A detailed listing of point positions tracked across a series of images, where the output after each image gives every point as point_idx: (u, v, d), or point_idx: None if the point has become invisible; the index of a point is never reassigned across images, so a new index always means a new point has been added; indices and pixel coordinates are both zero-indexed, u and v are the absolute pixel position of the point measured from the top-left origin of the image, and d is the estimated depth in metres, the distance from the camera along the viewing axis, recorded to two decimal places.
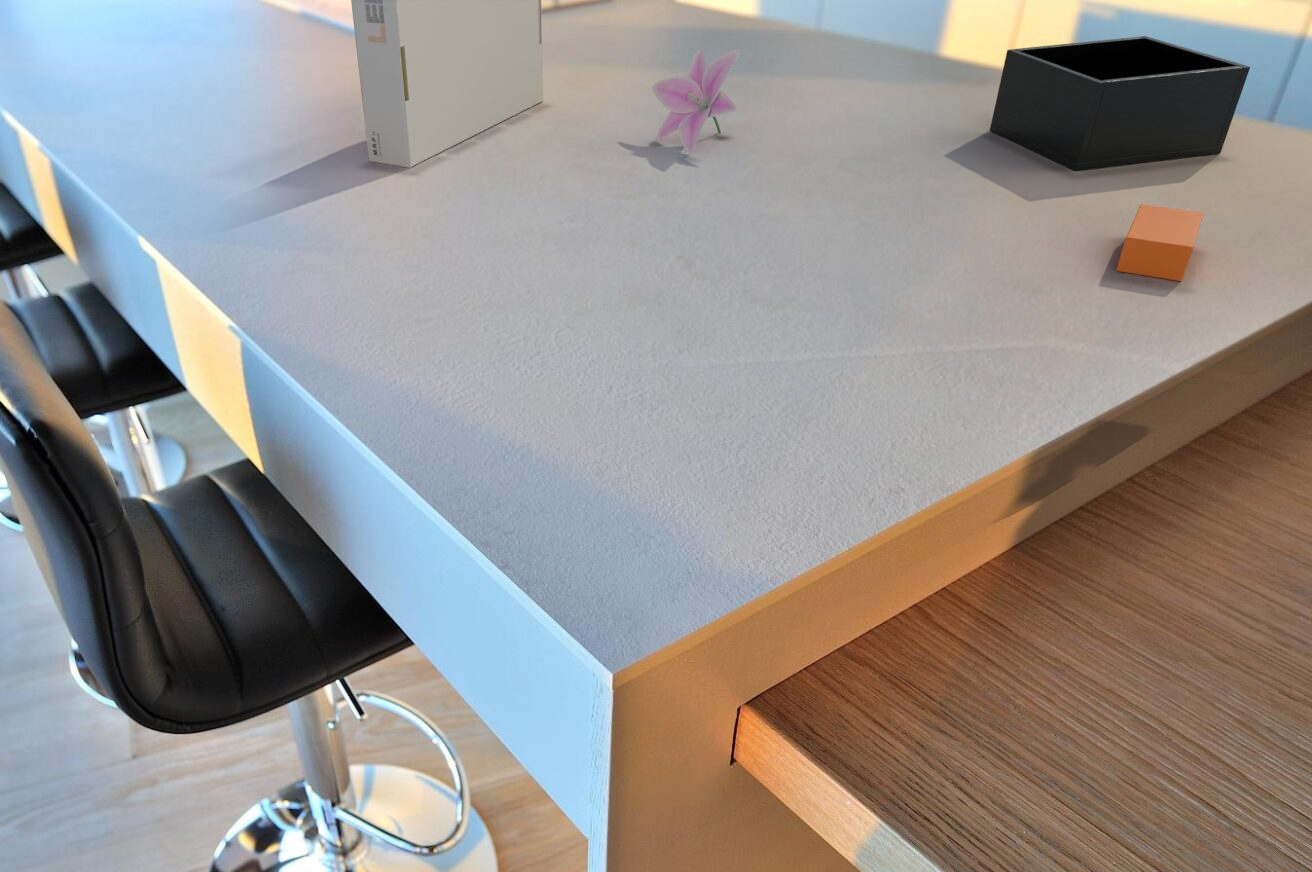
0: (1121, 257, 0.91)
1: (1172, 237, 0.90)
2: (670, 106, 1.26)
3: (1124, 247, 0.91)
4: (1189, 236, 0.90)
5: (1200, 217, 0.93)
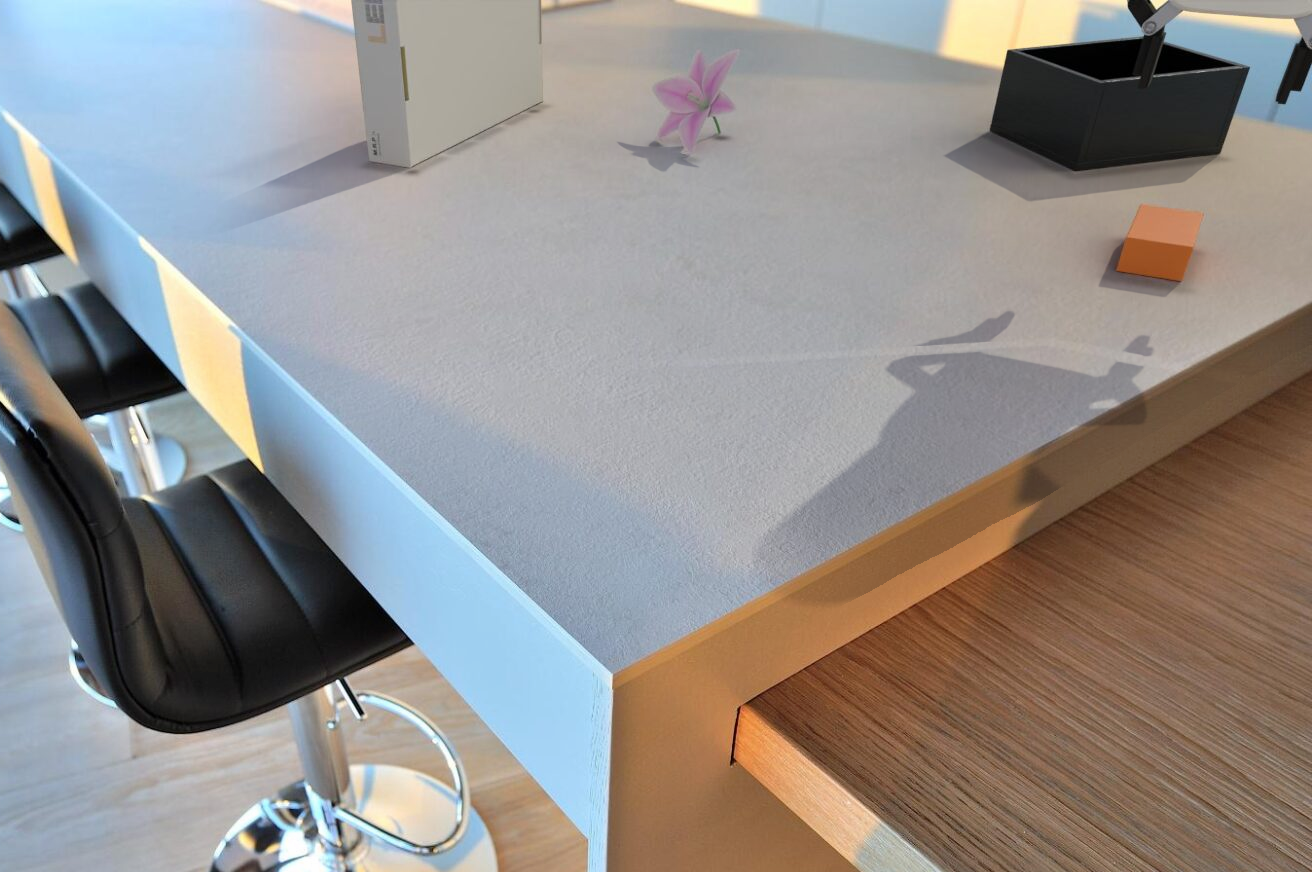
0: (1121, 257, 0.91)
1: (1172, 237, 0.90)
2: (670, 106, 1.26)
3: (1124, 247, 0.91)
4: (1189, 236, 0.90)
5: (1200, 217, 0.93)
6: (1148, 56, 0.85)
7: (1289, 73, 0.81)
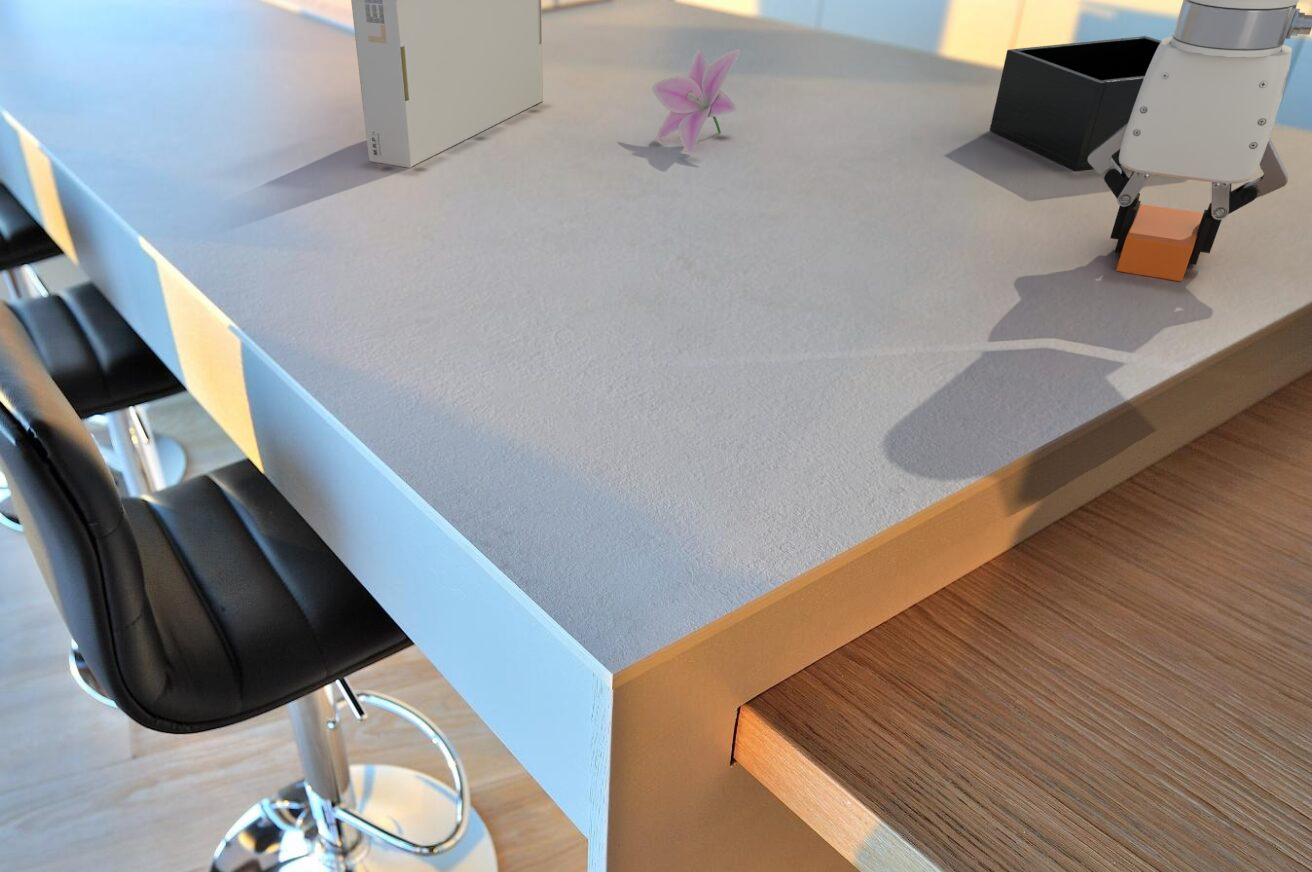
0: (1121, 257, 0.91)
1: (1172, 237, 0.90)
2: (670, 106, 1.26)
3: (1124, 247, 0.91)
4: (1189, 236, 0.90)
5: (1200, 217, 0.93)
6: (1124, 225, 0.93)
7: (1197, 239, 0.90)
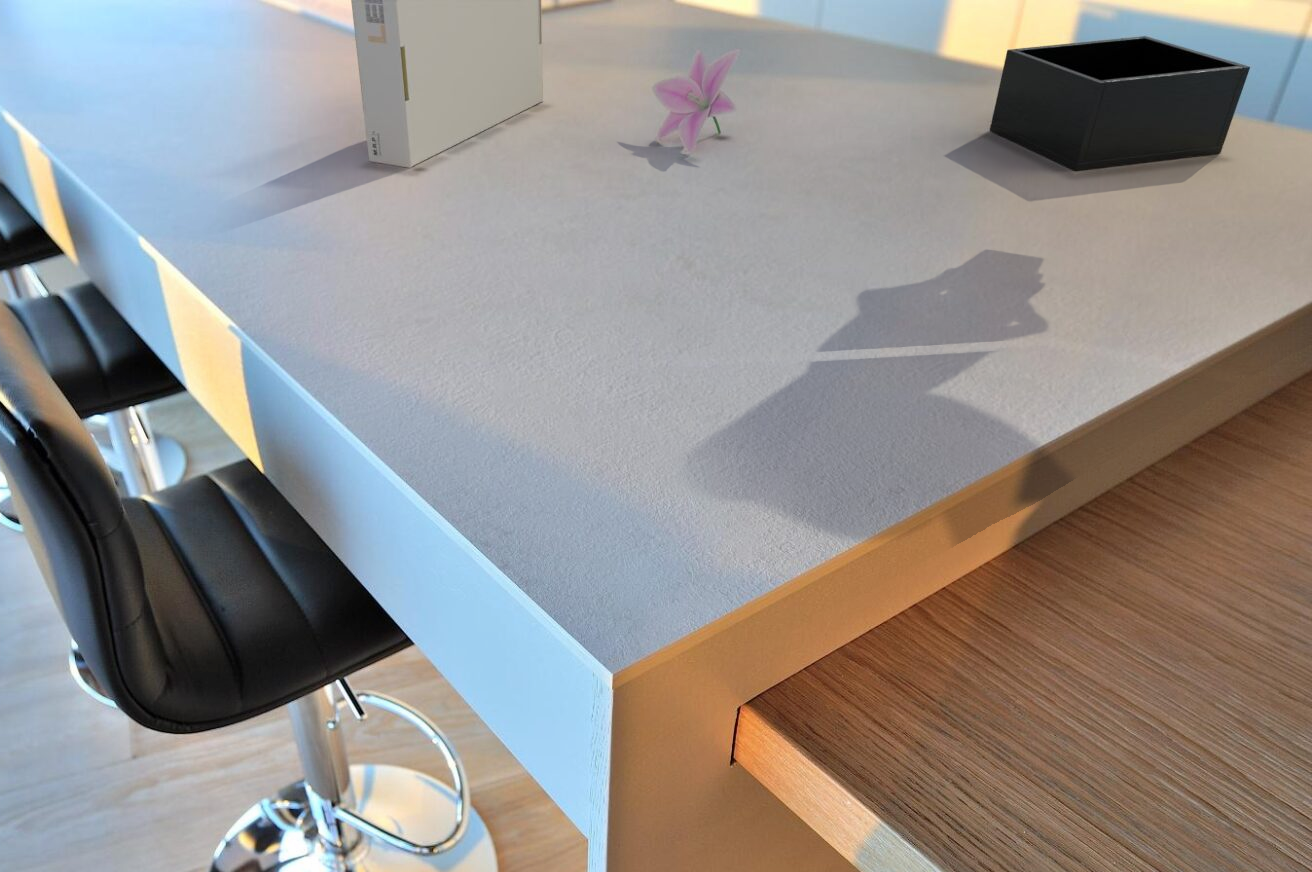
0: None
1: None
2: (670, 106, 1.26)
3: None
4: None
5: None
6: None
7: None
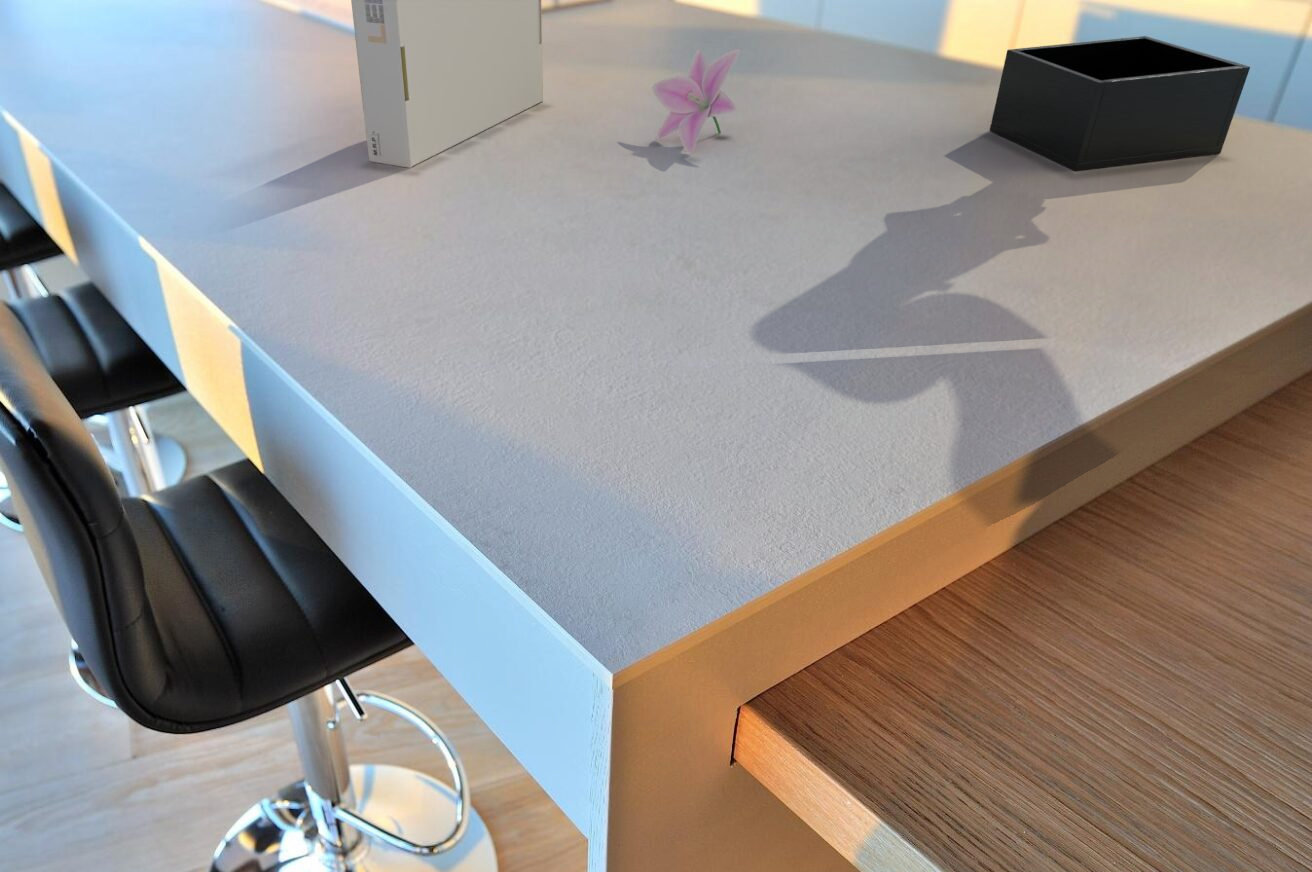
0: None
1: None
2: (670, 106, 1.26)
3: None
4: None
5: None
6: None
7: None
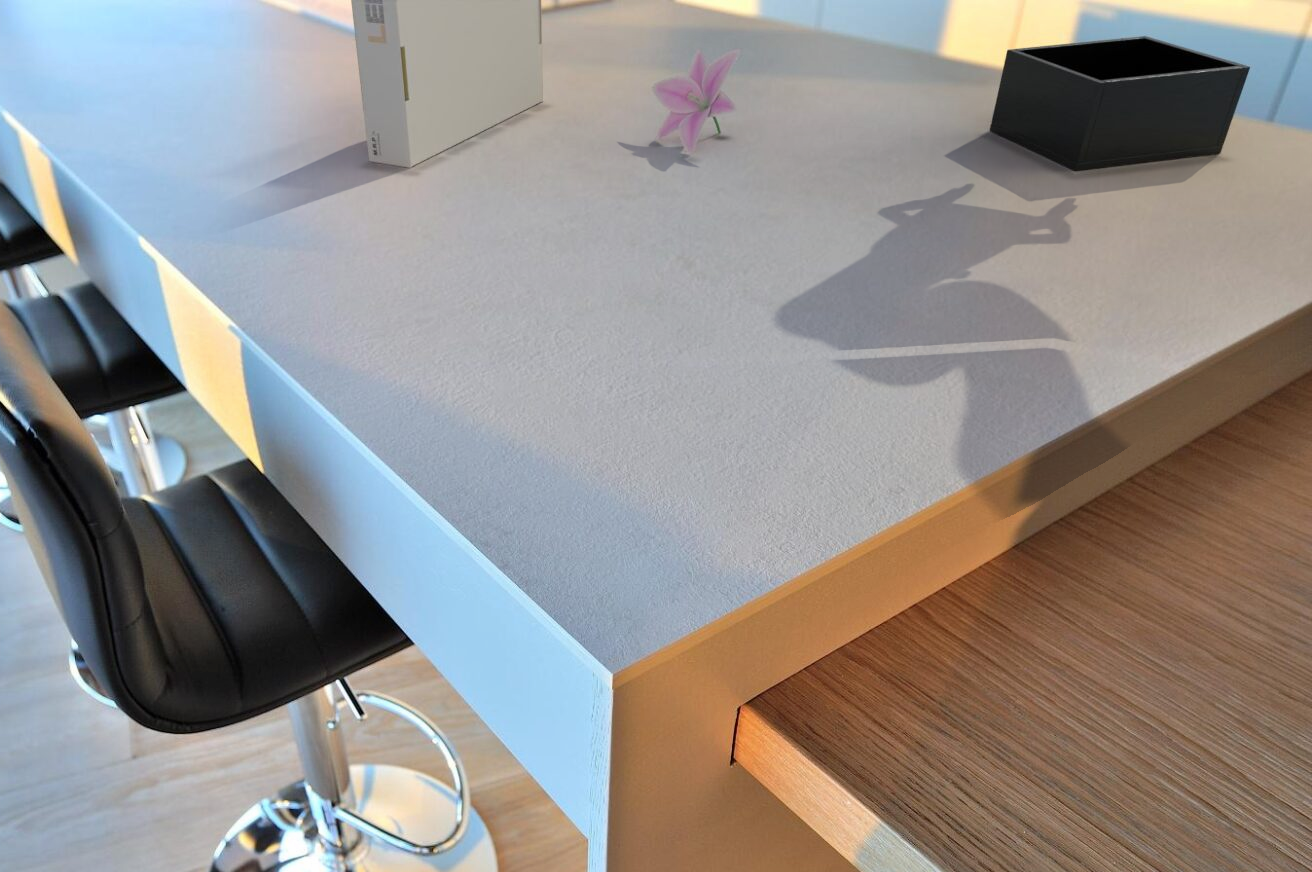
0: None
1: None
2: (670, 106, 1.26)
3: None
4: None
5: None
6: None
7: None
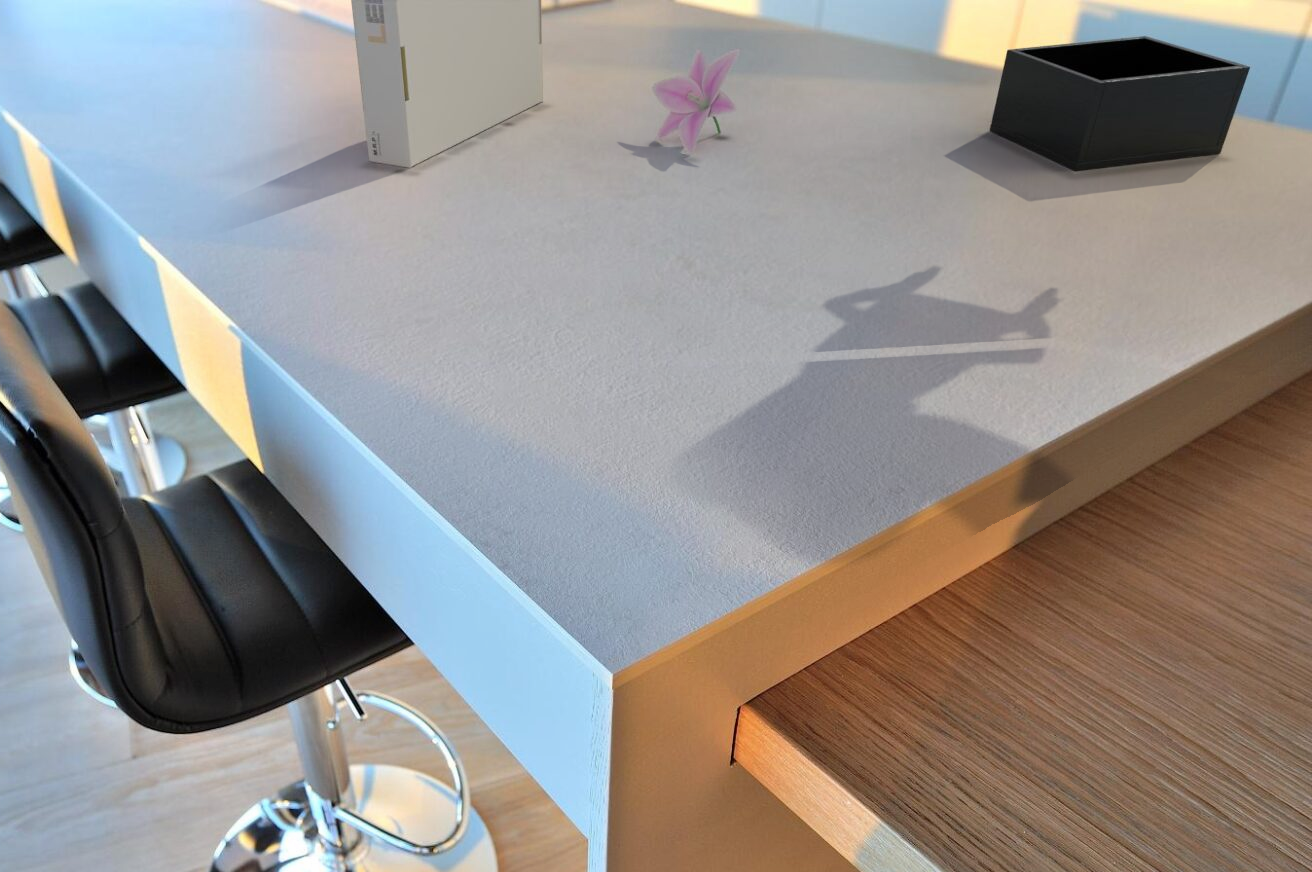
0: None
1: None
2: (670, 106, 1.26)
3: None
4: None
5: None
6: None
7: None
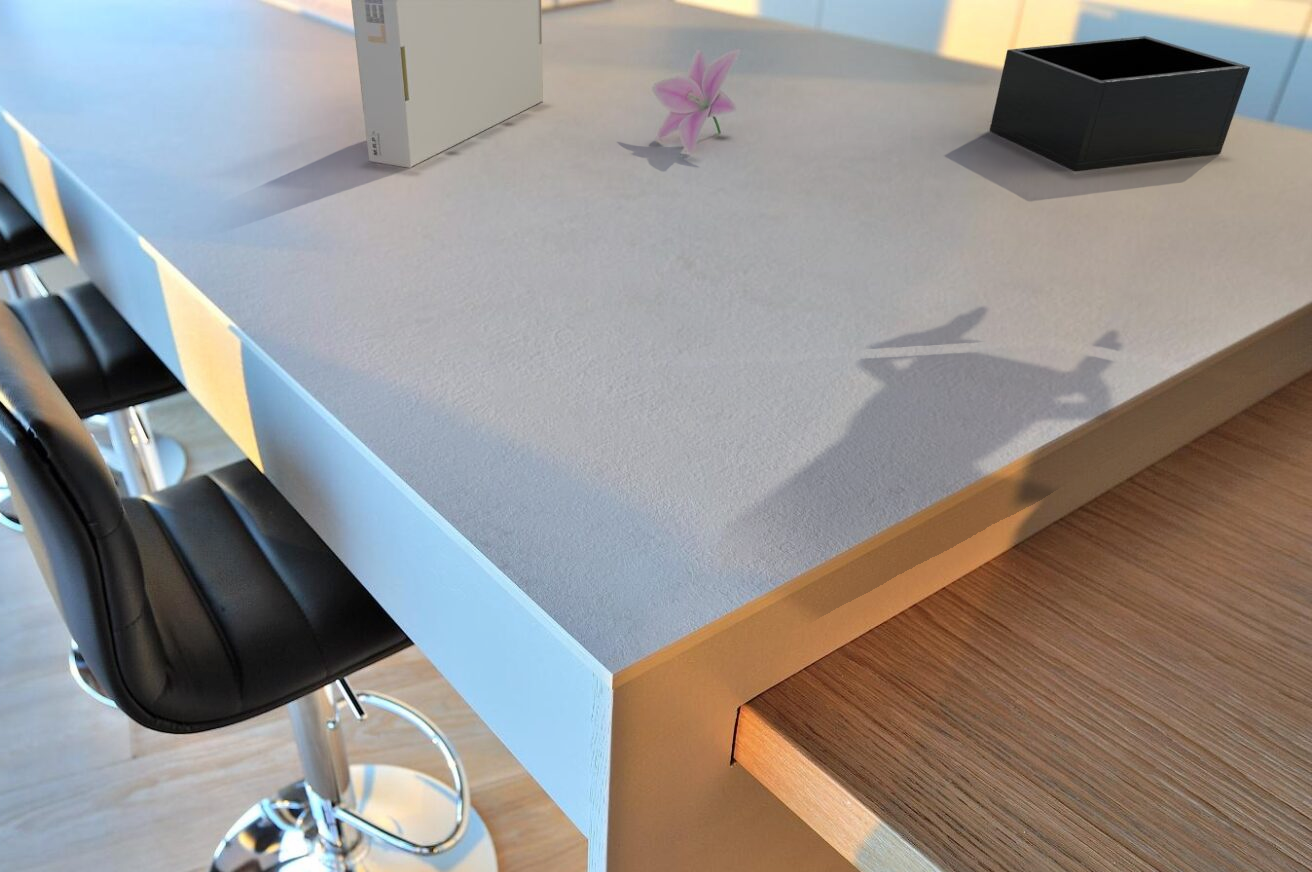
0: None
1: None
2: (670, 106, 1.26)
3: None
4: None
5: None
6: None
7: None
